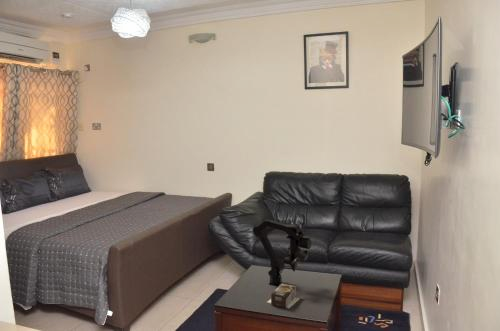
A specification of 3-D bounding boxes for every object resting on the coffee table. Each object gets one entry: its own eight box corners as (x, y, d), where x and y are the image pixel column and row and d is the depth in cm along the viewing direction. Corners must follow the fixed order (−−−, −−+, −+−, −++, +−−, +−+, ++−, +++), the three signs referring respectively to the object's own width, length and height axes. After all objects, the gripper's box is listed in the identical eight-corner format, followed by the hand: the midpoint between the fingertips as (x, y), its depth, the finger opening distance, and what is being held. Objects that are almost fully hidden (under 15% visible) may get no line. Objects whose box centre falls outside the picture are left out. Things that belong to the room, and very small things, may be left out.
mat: (266, 302, 221) (266, 301, 221) (277, 293, 233) (277, 293, 233) (289, 308, 214) (289, 307, 214) (299, 298, 225) (299, 298, 225)
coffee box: (296, 285, 227) (286, 297, 213) (295, 296, 228) (286, 308, 213) (281, 283, 231) (270, 293, 217) (281, 293, 232) (270, 304, 217)
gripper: (299, 252, 225) (298, 279, 226) (313, 244, 240) (312, 269, 242) (282, 249, 231) (282, 274, 232) (296, 241, 246) (296, 265, 248)
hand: (294, 271), depth 238 cm, fingers closed
